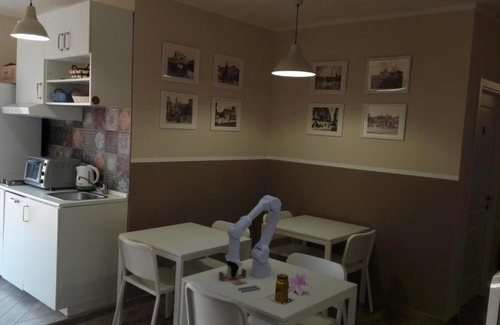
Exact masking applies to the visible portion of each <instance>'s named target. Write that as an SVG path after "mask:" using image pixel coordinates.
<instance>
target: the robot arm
mask: <svg viewBox="0 0 500 325" xmlns="http://www.w3.org/2000/svg"><path fill="white" fill-rule="evenodd" d="M281 209H282V201H281V200H280V199H279V198H278V197H274V196H272V195H269V194H266V195H264V196H263V197H262V198H260V200H259V202H258V204H257V205H255V207H254V208H253V209H252V210H251V211H250V212H249V213H248V214H247V215H242V216H241V217H240V218H239V220H238V221H236V223H233V225H232V226H230V227H229V228H228V230H227V231H226V233H227V236H228V249H227V250H228V252H227V254H225V255H224V256H225V257H224V258H225V260H226V265H227V266H229V265H230V268H231V276H232V277H236V274H237V270H238V268H239V269H240V267H242V266H243V262H242V260H241V259H240V248H241V247H240V246H241V238H242V237H243V233H244V232H245V231H247V229H248V228H249V227H250V226H251V225H252V223H253V222H252V221H253V220H254V219H255V218H257V217H258V216H259V215H260V214H261V213H262V212H265V211H268V213H269V215H268V218H267V221H266V223H265V226H264V228H263V231H262V233H261V235H260V236H261V237H260V238H259V241H258V242H257V243H256V244H254V247H253V248H252V249H251V250H250V257H251V258H252V265H251V277H253V278H255V279H262V278H267V277H271V271H272V270H271V268H272V267H271V266H272V265H271V262H270V261H268V260H269V258H270V247H269V246H270V243H271V242H272V238H273V235H274V233H275V231H276V228H277V225H278V222H280V221H279V220H280V217H281V214H282V213H281V212H282V210H281Z"/></svg>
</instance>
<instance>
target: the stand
mask: <svg viewBox="0 0 500 325" xmlns="http://www.w3.org/2000/svg"><path fill="white" fill-rule="evenodd" d="M260 290H261V287H260V286H259V287H258V285H256V284H255V285H250V286H243V287H238V291H239V292H240V293H243V294H244V293H248V292H256V291H260Z"/></svg>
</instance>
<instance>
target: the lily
mask: <svg viewBox="0 0 500 325" xmlns="http://www.w3.org/2000/svg"><path fill="white" fill-rule="evenodd" d="M308 275H309V272H308V271H307V272H305V273H302V274H299V272H298V271H295V272H294V277H288V281H289V285H290V290H289V292H291V293H292V292H294V291H296V293H297V294H298V296H299V297H302V296H303V292H304V291H303V290H304V288H309V287H311V284H309V283H308V282H307V281H306V280H307V277H308Z"/></svg>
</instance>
